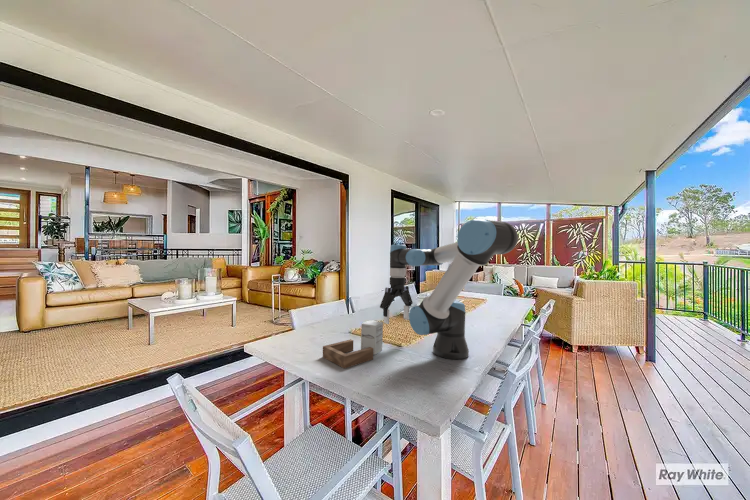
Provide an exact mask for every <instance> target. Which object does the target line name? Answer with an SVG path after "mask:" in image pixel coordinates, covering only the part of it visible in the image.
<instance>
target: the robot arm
mask: <svg viewBox="0 0 750 500" xmlns="http://www.w3.org/2000/svg"><path fill="white" fill-rule="evenodd" d="M518 242H519V235H518V232H517V229H516V228H515V227H514V226H513V225H512V224H511V223H509V222H506V221H499V220H490V219H486V218H485V219H484V218H477V219H476V218H474V219H471V220H467V221H466V222H465V223H464V224H462V226H461V227H460V228H459V230H458V233H457V240H456V242H453V243H448V244H446V245H442V246H439V247H434V248H431V249H428V248H427V249H425V248H424V249H423V248H422V249H420V248H407V246H406V244H391V245H390V248H389V249H390V251H389V276H390V277H389V285H390V287H385V288H384V295H383V296H382V300H381V302H380V305H379V308H380V309H382V310H383V311H382V313H383V315H382V316H383V324H387V325H389V324H390V309H389V308H390V306H391V304H392V303H393V301H394V299H395V298H397V297H400V299H401V301H402V302H403V304H404V305H403V320H408V321H409V324H410V327H411V329H412V331H413V332H414V333H416V334H417V335H419V336H427V335H431V334H436V333H437V334H436V338H435V339H434V343H433V344H432V345H433V346H432V352H433V354H434V355H436V356H438V357H440V358H443V359H444V358H445V359H448V360H449V359H450V360H462V359H466V358H468V357H469V356H470V355H469V346H468V343H467V340H466V336H465V335H466V333H465V332H466V331H465V330H466V313H467V312H466V304H465V303H463V302H461V301H458V300H456V299H457V298H458V297H459V295H460V294H461V293H462V291H463V289H464V288H465V287H466V285H467V284H468V282H469V281H470V280H471V279H472V277H473V276H474V275H475V272H476V271H477V270H478V269H479V267H480V266H481V267H482V266H486V265H487V264H488V263H489V261H490V260H491V258H492V257H493V256H495V255H505V254H509V253H510V252H511V251H513V250H514V249H515V248H516V246H517V244H518ZM449 262H451V263H450V265H449V266H448V268H447V270H446V271H445V273H444V274H443V275H442V277H440V280H439V281H438V283H437V284H436V285H435V288H434V289H433V291H432V293H430V295H428V296H425V297H424V298H423V299H422V301H421V303H420V304H419V305H414V306H412V305H413V303H414V302H413V299H412V296H411V294H410V290H409V288H410V287H409V285H408V286H407V285H406V273H407V272H406V270H407V269H406V267H407V266H411V267H420V266H435V267H436V266H440V265H441V266H442V265H443V264H445V263H449ZM410 307H411V308H410ZM467 356H468V357H467Z"/></svg>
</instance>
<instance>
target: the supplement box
mask: <svg viewBox="0 0 750 500" xmlns="http://www.w3.org/2000/svg"><path fill="white" fill-rule="evenodd" d="M360 327H361V328H360V329H361V333H360V334H361V336H360V350H361V349H365V348H368V347H371V348H373V356H374V355H377V354H378V353H380V352H382V351H383V339H384V338H383V336H384V335H383V334H384V333H383V330H384V321H376V320H366V321H364V322H362V323H361V326H360Z"/></svg>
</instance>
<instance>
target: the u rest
mask: <svg viewBox="0 0 750 500" xmlns="http://www.w3.org/2000/svg"><path fill="white" fill-rule="evenodd" d="M322 358H324V359H326V360H327V361H329V362H331V363H333V364H334V365H337V366H339V367H341V368H343V369H345V370H346V368H347V369H348V368H350V367H353V366H356V365H359V364H363V363H366V362H368V361H372V360H374V354H373V348H371V347H368V348H365V349H361V348H360V349H358V350H355V351H354V340H353V339H351V338H350V339H346V340H343V341H337V342H335V343H331V344H326V345H323V346H322Z"/></svg>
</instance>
